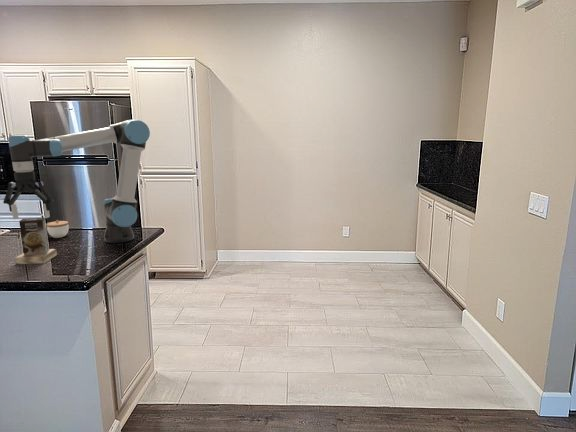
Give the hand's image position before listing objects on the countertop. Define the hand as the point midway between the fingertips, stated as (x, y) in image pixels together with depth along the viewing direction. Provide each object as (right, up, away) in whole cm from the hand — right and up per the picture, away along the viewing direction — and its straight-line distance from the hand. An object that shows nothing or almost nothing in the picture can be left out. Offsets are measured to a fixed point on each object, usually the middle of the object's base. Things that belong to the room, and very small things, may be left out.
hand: (31, 218), depth 174 cm
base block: (0, -19, +4) cm, 20 cm away
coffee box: (0, -16, +3) cm, 17 cm away
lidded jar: (-13, -11, +43) cm, 46 cm away
